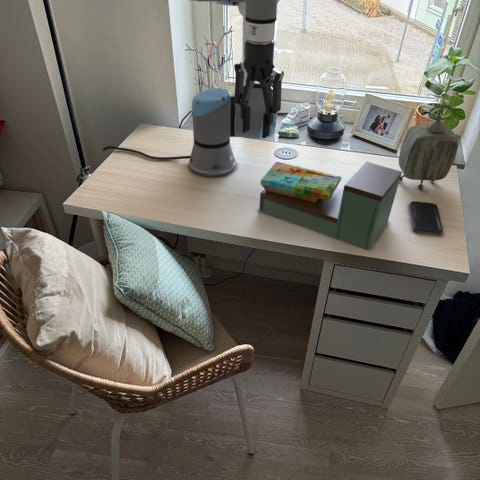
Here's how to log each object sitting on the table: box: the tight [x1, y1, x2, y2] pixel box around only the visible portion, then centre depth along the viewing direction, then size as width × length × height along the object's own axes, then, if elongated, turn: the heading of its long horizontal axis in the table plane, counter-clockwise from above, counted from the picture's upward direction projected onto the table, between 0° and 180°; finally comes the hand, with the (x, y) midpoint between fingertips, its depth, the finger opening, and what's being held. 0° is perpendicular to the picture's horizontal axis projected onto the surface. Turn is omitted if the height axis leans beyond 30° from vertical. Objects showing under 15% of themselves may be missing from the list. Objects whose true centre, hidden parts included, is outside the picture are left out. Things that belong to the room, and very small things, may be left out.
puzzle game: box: [260, 161, 342, 202], centre depth 132 cm, size 12×5×20 cm
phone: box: [409, 200, 444, 236], centre depth 135 cm, size 8×1×15 cm
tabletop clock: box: [398, 104, 460, 190], centre depth 140 cm, size 14×9×25 cm, turn 91°
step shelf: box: [258, 161, 403, 250], centre depth 130 cm, size 34×15×16 cm, turn 58°
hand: (255, 133), depth 130 cm, fingers open, 6 cm apart
